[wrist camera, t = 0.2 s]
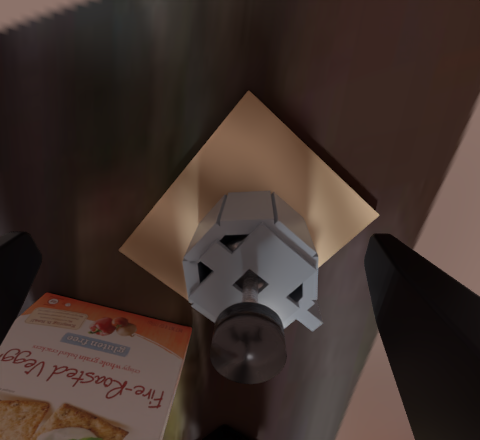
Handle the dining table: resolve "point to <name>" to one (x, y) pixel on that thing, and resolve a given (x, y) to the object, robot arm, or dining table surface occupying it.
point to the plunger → (248, 335)
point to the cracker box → (88, 373)
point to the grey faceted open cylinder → (254, 258)
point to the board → (245, 180)
